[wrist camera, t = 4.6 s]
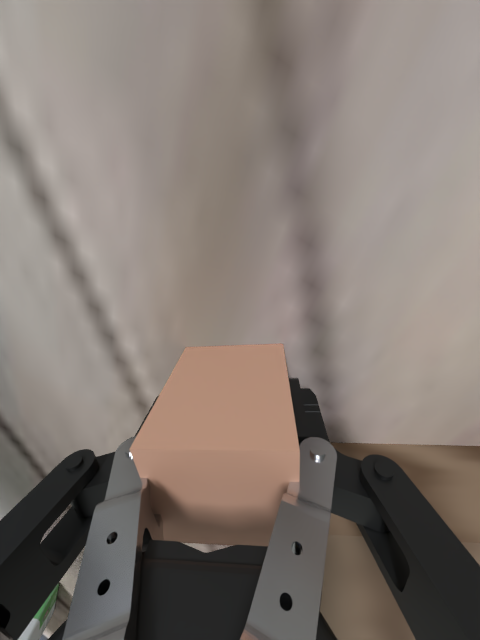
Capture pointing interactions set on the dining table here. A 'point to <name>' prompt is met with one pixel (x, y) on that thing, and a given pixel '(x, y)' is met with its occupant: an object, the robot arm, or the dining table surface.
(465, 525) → the walnut block
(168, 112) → the dining table surface
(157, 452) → the terracotta block
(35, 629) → the ink box
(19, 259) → the dining table surface
